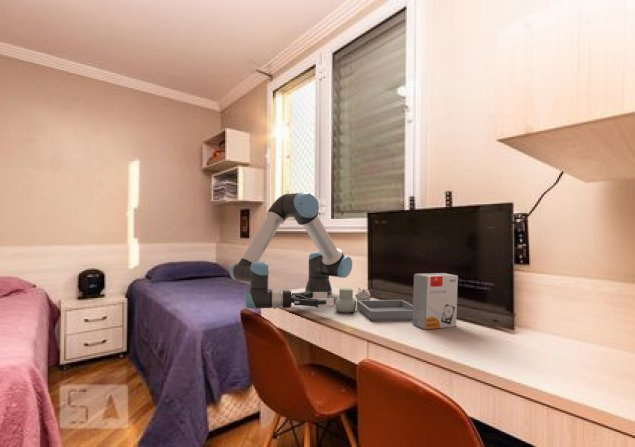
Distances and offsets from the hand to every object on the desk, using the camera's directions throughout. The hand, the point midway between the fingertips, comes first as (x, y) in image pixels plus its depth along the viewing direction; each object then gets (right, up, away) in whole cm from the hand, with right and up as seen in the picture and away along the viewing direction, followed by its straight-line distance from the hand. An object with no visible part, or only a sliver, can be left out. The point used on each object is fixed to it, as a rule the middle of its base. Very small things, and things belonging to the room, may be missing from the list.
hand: (330, 298), depth 150 cm
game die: (+17, -7, +15) cm, 24 cm away
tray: (+25, -6, -3) cm, 26 cm away
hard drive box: (+40, -7, -18) cm, 44 cm away
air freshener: (+7, -6, +1) cm, 10 cm away
